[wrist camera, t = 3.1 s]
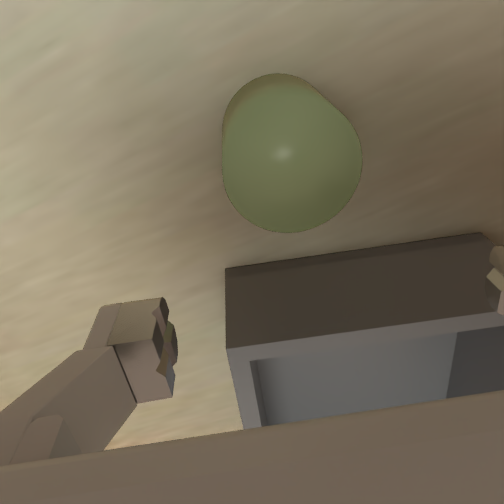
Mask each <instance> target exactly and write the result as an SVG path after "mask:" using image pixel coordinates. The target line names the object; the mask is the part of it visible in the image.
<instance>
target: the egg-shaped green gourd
mask: <svg viewBox="0 0 504 504" xmlns="http://www.w3.org/2000/svg"><path fill="white" fill-rule="evenodd" d="M361 170H362V150H361V145H360V141H359V139H358V136H357V134H356V132H355V130H354V128H353V126H352V125H351V123H350V122H349V121H348V119H347V118H346V117H345V116H344V115H343V114H342V113H341V112H340V111H338V110H337V109H336V108H335V107H334V106H333V105H332V104H331V103H330V102H329V101H327V100H326V99H325V98H324V97H323V96H322V95H321V94H320V93H319V92H318V91H317V90H315V89H314V88H313V87H312V86H311V85H310V84H308V83H307V82H306V81H304V80H302V79H300V78H298V77H295V76H292V75H287V74H269V75H264V76H261V77H258V78H256V79H254V80H252V81H250V82H249V83H247V84H246V85H244V86H243V87H242V88H241V89H240V90H239V91H238V92H237V93H236V94H235V95H234V97H233V98H232V100H231V101H230V103H229V105H228V107H227V109H226V112H225V115H224V120H223V129H222V175H223V182H224V186H225V190H226V193H227V195H228V197H229V199H230V201H231V203H232V204H233V206H234V207H235V208H236V210H237V211H238V212H239V213H240V214H241V215H242V216H243V217H244V218H246V219H247V220H248V221H250V222H251V223H253V224H255V225H256V226H258V227H261V228H263V229H266V230H270V231H274V232H281V233H292V232H300V231H305V230H309V229H312V228H315V227H317V226H319V225H321V224H323V223H325V222H326V221H328V220H330V219H331V218H332V217H334V216H335V215H336V214H337V213H338V212H339V211H341V210H342V209H343V207H344V206H345V205H346V204H347V203H348V201H349V200H350V198H351V197H352V195H353V193H354V191H355V189H356V187H357V185H358V182H359V179H360V175H361Z"/></svg>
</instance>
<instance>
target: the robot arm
mask: <svg viewBox="0 0 504 504" xmlns="http://www.w3.org/2000/svg"><path fill="white" fill-rule="evenodd" d="M489 262H490V264H491V265H492V266H493V269H492V270H491V272H490V273H489V274H488V275H487V276H486V281H485V292H486V297H487V300H488V301H489V303H490V305H491V307H492V308H493V309H494V310H495V311H496V312H497V313H499V314H501V315H504V245H500V246H494V248H493V249H492V251H491V252H490V258H489ZM168 315H169V309H168V306H167V303H166V300H165V299H164V298H163V297H160V298H153V299H146V300H138V301H131V302H124V303H116V304H110V305H104V306H102V307H101V308H100V309H99V312H98V314H97V316H96V319H95V321H94V323H93V326H92V328H91V331H90V333H89V335H88V338H87V340H86V343H85V345H84V347H83V350H80V351H76V352H74V353H73V354H72V355H71V356H69V357H68V358H67V359H66V360H64V361H63V362H62V363H61V364H59V365H58V366H57V367H56V368H54V369H53V370H52V371H51V372H50V373H48V374H47V375H46V376H45V377H43V378H42V379H41V380H40V381H38V382H37V383H36V384H35V385H33V386H32V387H31V388H30V389H28V390H27V391H26V392H25V393H23V394H22V395H21V396H20V397H18V398H17V399H16V400H15V401H13V402H12V403H11V404H10V405H8V406H7V407H6V408H5V409H3V410H2V411H1V412H0V504H504V390H501V391H494V392H487V393H481V394H474V395H467V396H461V397H454V398H447V399H441V400H434V401H428V402H421V403H415V404H408V405H402V406H395V407H388V408H382V409H375V410H369V411H362V412H356V413H349V414H343V415H336V416H330V417H323V418H316V419H310V420H303V421H297V422H290V423H283V424H277V425H270V426H264V427H257V428H250V429H244V430H237V431H231V432H224V433H217V434H211V435H204V436H197V437H191V438H184V439H178V440H171V441H164V442H158V443H151V444H145V445H138V446H131V447H125V448H118V449H111V450H105V451H103V450H104V449H105V447H106V446H107V445H108V443H109V442H110V441H111V439H112V438H113V437H114V435H115V434H116V433H117V431H118V430H119V429H120V428H121V426H122V425H123V424H124V422H125V421H126V420H127V418H128V417H129V416H130V414H131V413H132V412H133V410H134V409H135V408H136V406H137V404H138V403H143V402H149V401H154V400H160V399H166V398H171V397H172V396H173V388H174V381H175V373H174V370H173V365H174V364H175V363H176V362H177V356H178V346H177V337H176V332H175V329H174V325H173V324H172V323H170V322H169V321H168Z"/></svg>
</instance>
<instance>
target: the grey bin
mask: <svg viewBox="0 0 504 504" xmlns="http://www.w3.org/2000/svg"><path fill="white" fill-rule="evenodd" d="M494 246H496V245H495V244H493V243H492V242H491V241H490V240H489V239H488V238H487V237H485V236H484V235H483V234H482V233H474V234H466V235H459V236H452V237H445V238H438V239H431V240H424V241H417V242H410V243H403V244H396V245H389V246H382V247H375V248H368V249H361V250H354V251H347V252H340V253H333V254H326V255H319V256H312V257H305V258H298V259H290V260H283V261H276V262H269V263H262V264H255V265H248V266H241V267H234V268H227V269H225V305H226V352H227V356H228V361H229V365H230V370H231V374H232V379H233V383H234V388H235V392H236V397H237V401H238V406H239V410H240V415H241V419H242V424H243V428H244V429H250V428H257V427H264V426H270V425H277V424H283V423H290V422H297V421H303V420H310V419H316V418H323V417H330V416H336V415H343V414H349V413H356V412H362V411H369V410H375V409H382V408H388V407H395V406H402V405H408V404H415V403H421V402H428V401H434V400H441V399H447V398H454V397H461V396H467V395H474V394H481V393H487V392H494V391H501V390H504V315H501V314H499V313H497V312H496V311H495V310H494V309H493V308H492V307H491V305H490V303H489V301H488V300H487V297H486V292H485V281H486V276H487V275H488V274H489V273H490V272H491V270H492V269H493V266H492V265H491V264H490V262H489V258H490V252H491V251H492V249H493V248H494Z"/></svg>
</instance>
